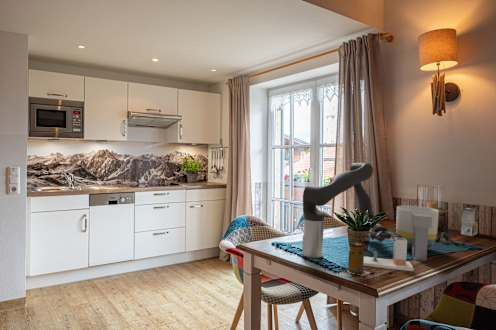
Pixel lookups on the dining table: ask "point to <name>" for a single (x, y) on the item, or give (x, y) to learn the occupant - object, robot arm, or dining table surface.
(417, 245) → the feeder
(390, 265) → the pin board
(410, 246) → the planter
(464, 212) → the coffee box
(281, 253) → the dining table surface
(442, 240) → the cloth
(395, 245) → the sleeve
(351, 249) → the condiment
